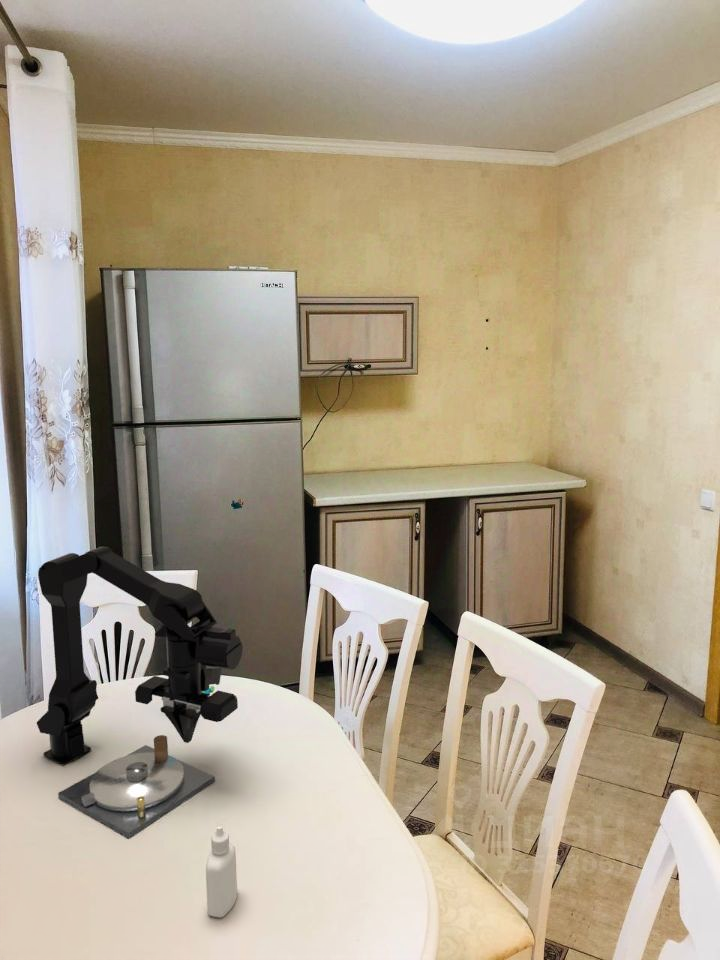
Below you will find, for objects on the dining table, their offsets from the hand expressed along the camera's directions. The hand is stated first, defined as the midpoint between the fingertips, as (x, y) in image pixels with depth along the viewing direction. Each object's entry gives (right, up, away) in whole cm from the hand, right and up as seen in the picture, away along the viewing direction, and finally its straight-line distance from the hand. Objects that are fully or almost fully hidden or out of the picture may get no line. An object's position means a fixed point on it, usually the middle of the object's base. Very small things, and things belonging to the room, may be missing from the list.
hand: (187, 741), depth 131 cm
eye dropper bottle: (+12, -13, -29) cm, 34 cm away
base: (-8, -8, -2) cm, 12 cm away
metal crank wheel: (-9, -7, -3) cm, 11 cm away
